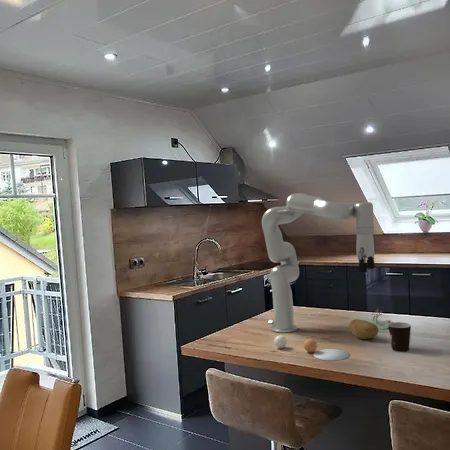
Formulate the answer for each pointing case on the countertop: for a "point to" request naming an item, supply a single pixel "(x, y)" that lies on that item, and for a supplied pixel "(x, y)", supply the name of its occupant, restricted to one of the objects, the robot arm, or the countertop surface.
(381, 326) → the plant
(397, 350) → the coffee mug
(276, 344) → the cue ball
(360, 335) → the potato
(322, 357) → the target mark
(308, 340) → the object ball
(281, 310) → the robot arm
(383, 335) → the countertop surface
